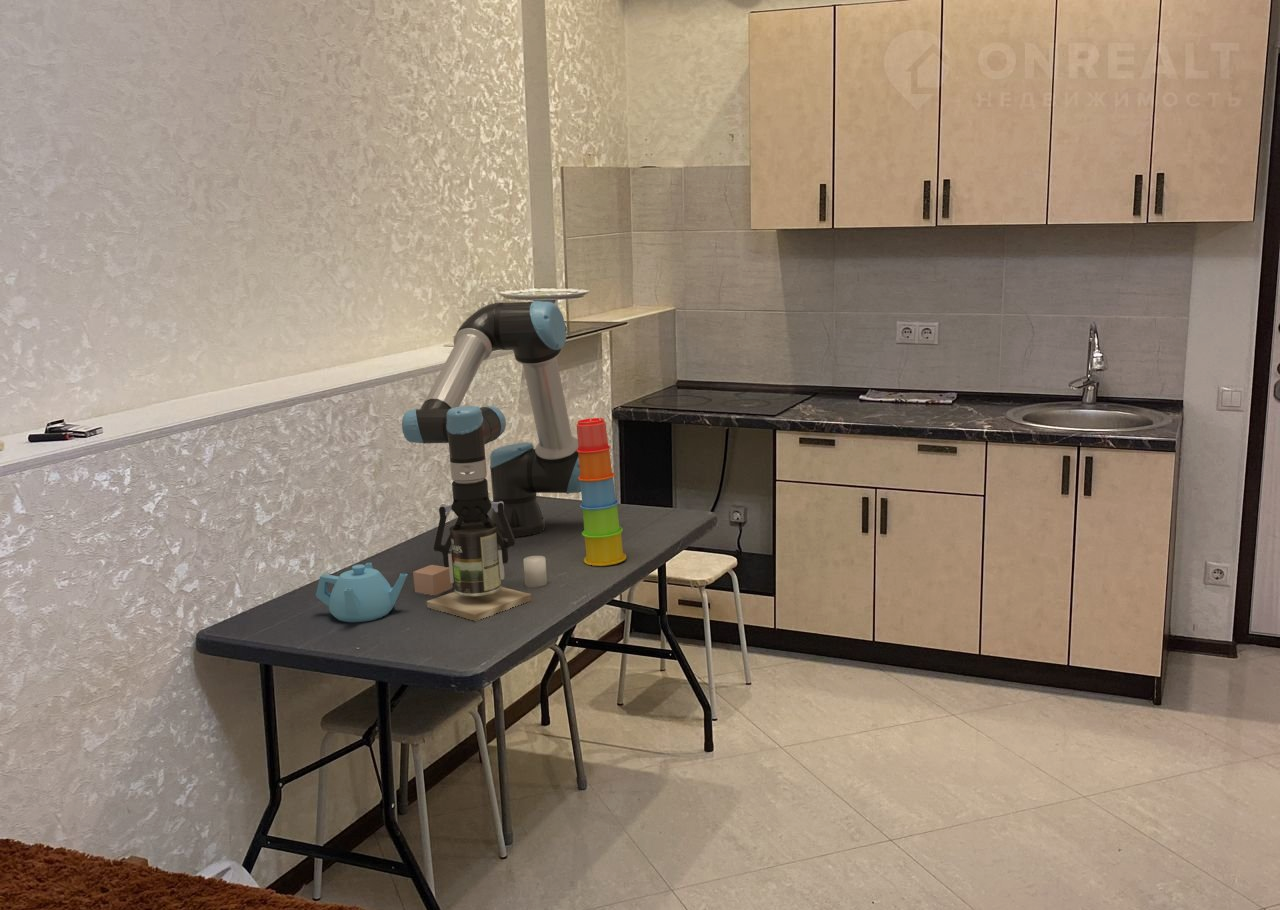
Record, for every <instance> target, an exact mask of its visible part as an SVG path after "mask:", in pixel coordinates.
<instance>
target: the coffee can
mask: <svg viewBox="0 0 1280 910" xmlns="http://www.w3.org/2000/svg"><path fill="white" fill-rule="evenodd" d="M493 524H494V526H493V527H492V528H487V527H486V526H485V525H484V524H483V523H482V521H480V522H470V523H465V522H463V523H462V525H461V527H460V529H459V530H453V527H454V525H455V524H453V525H452V526H450V527H449V535H450V534H451V547H450V549H451V550H452V560H453V572H454V583H453V584H454V592H455V593H457V594H458V595H462V596H473V597H475V596H484V595H489V594H493V593H495V592H497V591H499V590H500V589H501V588H502V587H503V586H502V581H501V580H500V570H499V557H498V549H499V544H498V543H497V536H496V531H497V529H498V525H497V524H496V523H494V522H493Z"/></svg>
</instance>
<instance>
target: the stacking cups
mask: <svg viewBox="0 0 1280 910" xmlns="http://www.w3.org/2000/svg"><path fill="white" fill-rule="evenodd" d="M575 427H576V435H577V440H578V449H577V452H578V456H579V467H580V476H579V477H578V479H579V480H580V485H581V492H580V493H581V501H582V502H581V504H579V505H580V506H579V507H580V509H581V511H582V519H583V531H582V532H581V535H582V537H584V543H585V557H584V558H583V562H584V563H585V565H588V566H591V565H592V566H593V567H606V566H614V565H617V564H621V563H622V562H624V561H626V559H627V554H626V553H624V550H623V549H624V548H623V539H622V532H623V527H621V526H620V520H619V519H620V518H619V512H618V504H619V501H618V500H617V499H616V498H617V497H616V490H615V484H614V477H615V473H614V472H613V469H612V463H611V453H610V449H611V446H610V445H609V441H608V433H607V432H608V431H607V423H606V421H605V419H604V417H603V418H602V417H591V418H585V419H580V420H578V421H577V423H576V426H575ZM592 566H591V567H592Z"/></svg>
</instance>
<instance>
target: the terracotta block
mask: <svg viewBox="0 0 1280 910" xmlns="http://www.w3.org/2000/svg"><path fill="white" fill-rule="evenodd" d="M412 574H413V575H412V576H413V577H412V578H413V587H414V593H415V592H420V593H419V594H421V593H424V594H423V595H426V594H430V595H429V596H432V595H436V594H438V595H440V594H439V593H441V592H443V591H445V592H447V591H446V590H448V589H450V588H452V589H453V586H454V585H453V583H450V572H449V567H444V565H442V566H441V565H437V564H430V565H427V566H425V567H422V568H419V569H417V570H415V571H413V572H412ZM450 590H451V589H450ZM448 591H449V590H448ZM443 593H444V592H443ZM441 594H442V593H441ZM436 596H437V595H436Z"/></svg>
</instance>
